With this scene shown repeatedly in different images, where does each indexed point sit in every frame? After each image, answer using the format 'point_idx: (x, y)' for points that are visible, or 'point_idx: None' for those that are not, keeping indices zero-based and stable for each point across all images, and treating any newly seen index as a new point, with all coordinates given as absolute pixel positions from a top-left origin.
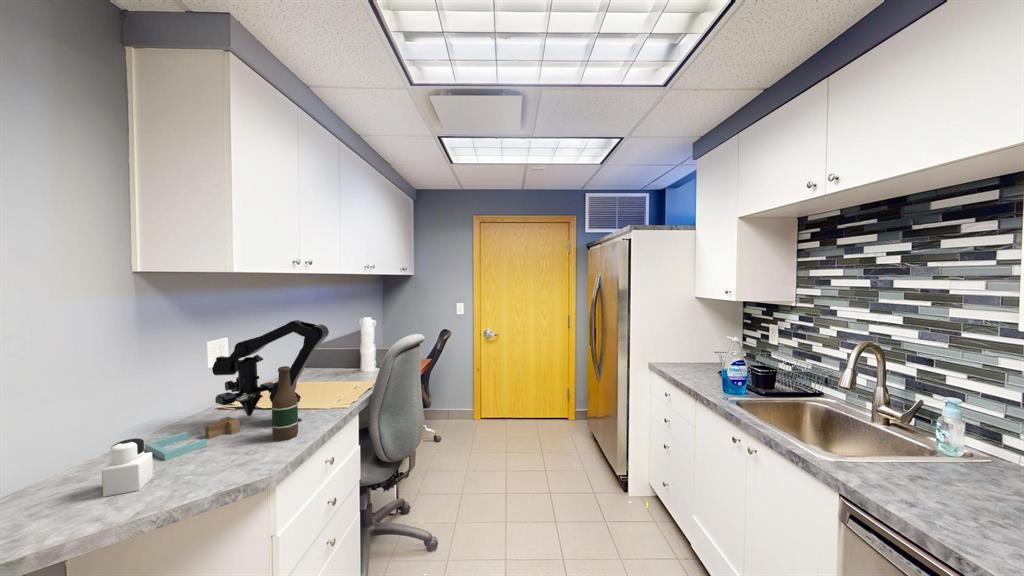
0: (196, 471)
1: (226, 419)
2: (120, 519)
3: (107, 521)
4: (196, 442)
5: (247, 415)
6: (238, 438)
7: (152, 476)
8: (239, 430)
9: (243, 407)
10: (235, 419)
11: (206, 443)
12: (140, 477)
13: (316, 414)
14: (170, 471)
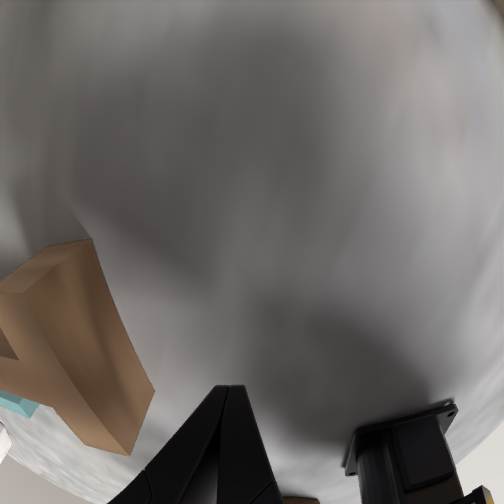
0: (70, 472)
1: (32, 361)
2: (31, 469)
3: (21, 461)
4: (7, 405)
5: (215, 391)
6: (143, 442)
7: (4, 430)
8: (150, 397)
9: (142, 478)
10: (99, 424)
11: (36, 408)
12: (3, 457)
13: (500, 415)
14: (22, 435)
